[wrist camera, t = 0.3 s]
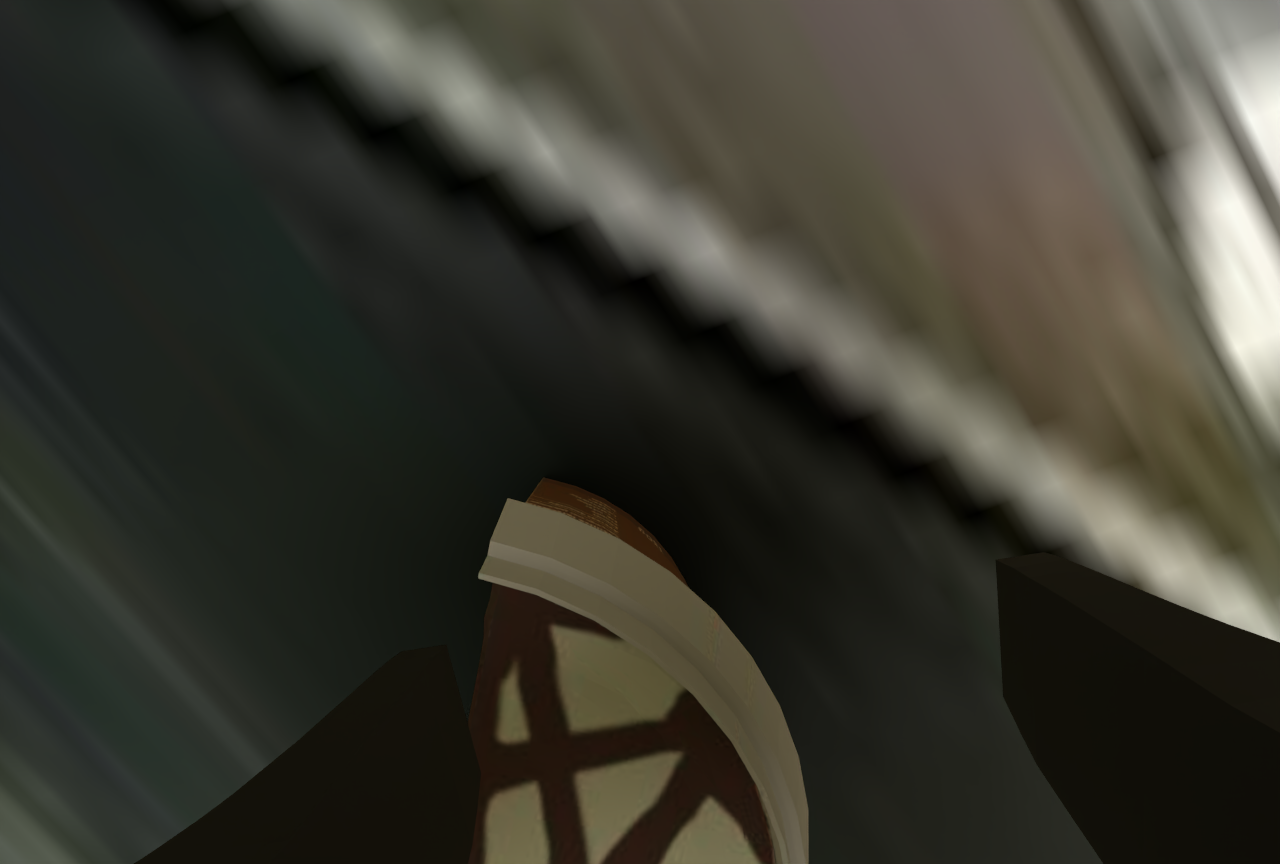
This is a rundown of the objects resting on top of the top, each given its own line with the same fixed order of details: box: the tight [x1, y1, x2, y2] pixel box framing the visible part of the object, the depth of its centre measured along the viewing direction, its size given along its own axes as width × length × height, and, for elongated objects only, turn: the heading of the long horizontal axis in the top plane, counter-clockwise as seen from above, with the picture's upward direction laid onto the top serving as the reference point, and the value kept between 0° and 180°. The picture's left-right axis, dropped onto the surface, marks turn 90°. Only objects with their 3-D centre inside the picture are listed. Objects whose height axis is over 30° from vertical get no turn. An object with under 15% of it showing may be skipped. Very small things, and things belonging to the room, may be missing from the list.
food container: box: [468, 477, 809, 864], centre depth 18 cm, size 12×6×10 cm, turn 168°
